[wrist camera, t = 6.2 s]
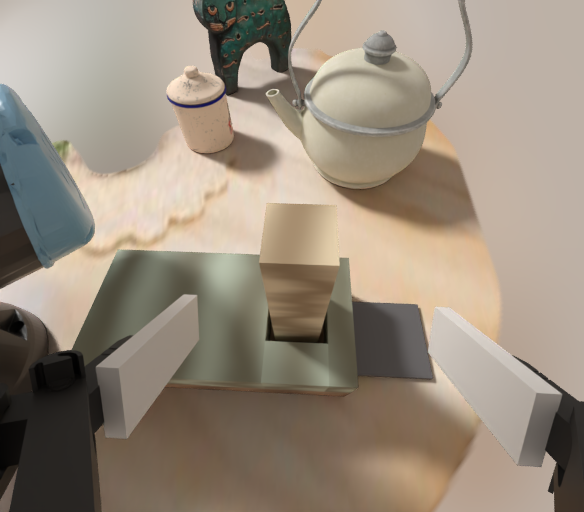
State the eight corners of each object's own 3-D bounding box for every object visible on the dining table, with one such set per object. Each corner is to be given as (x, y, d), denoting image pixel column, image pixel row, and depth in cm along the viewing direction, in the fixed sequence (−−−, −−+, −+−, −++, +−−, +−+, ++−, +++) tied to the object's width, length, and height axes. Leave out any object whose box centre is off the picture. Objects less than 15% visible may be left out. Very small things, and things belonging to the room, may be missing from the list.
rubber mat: (352, 375, 28) (353, 374, 28) (348, 303, 33) (348, 301, 32) (430, 379, 28) (432, 378, 28) (415, 306, 32) (417, 304, 32)
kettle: (408, 129, 51) (489, -81, 30) (431, 202, 41) (575, -34, 20) (275, 127, 52) (262, -81, 30) (266, 198, 42) (239, -35, 21)
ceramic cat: (223, 101, 57) (193, -39, 40) (207, 88, 59) (172, -47, 42) (295, 70, 63) (296, -60, 46) (278, 60, 66) (273, -66, 49)
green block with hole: (110, 384, 28) (60, 372, 22) (148, 280, 34) (118, 249, 28) (344, 396, 27) (358, 387, 21) (339, 287, 34) (348, 258, 28)
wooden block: (276, 344, 27) (259, 262, 14) (279, 306, 29) (266, 203, 16) (316, 346, 27) (339, 265, 13) (316, 308, 29) (336, 205, 16)
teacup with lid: (245, 141, 49) (233, 70, 39) (200, 162, 46) (175, 91, 36) (212, 112, 54) (194, 42, 44) (169, 129, 51) (140, 58, 41)
